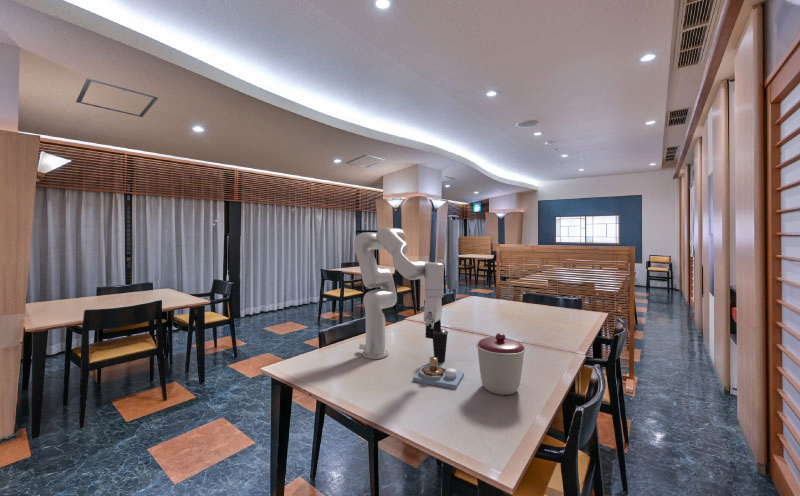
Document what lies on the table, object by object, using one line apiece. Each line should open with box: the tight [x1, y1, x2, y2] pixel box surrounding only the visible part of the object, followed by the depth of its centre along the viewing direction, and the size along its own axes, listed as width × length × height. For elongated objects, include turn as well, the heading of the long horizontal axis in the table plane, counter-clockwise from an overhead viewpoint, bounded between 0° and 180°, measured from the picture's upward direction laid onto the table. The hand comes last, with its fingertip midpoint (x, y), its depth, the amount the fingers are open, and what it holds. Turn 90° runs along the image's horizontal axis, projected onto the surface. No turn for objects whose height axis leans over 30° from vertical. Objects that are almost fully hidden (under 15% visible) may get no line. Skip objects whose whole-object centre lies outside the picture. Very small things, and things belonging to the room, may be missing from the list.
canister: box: [475, 332, 527, 396], centre depth 123 cm, size 18×18×21 cm
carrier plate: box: [412, 365, 465, 390], centre depth 132 cm, size 18×13×4 cm
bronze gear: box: [424, 356, 444, 377], centre depth 133 cm, size 8×8×6 cm
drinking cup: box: [432, 328, 449, 364], centre depth 151 cm, size 8×8×20 cm
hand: (433, 334), depth 133 cm, fingers open, 9 cm apart
